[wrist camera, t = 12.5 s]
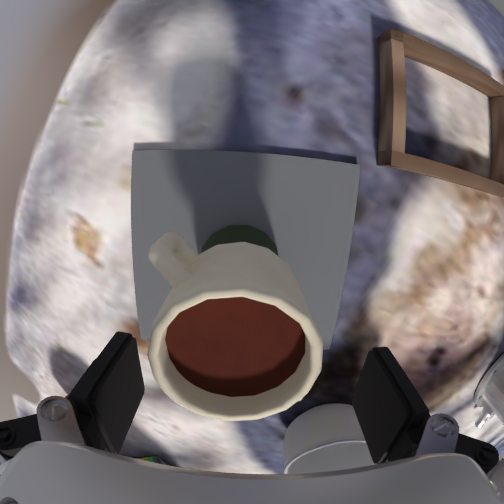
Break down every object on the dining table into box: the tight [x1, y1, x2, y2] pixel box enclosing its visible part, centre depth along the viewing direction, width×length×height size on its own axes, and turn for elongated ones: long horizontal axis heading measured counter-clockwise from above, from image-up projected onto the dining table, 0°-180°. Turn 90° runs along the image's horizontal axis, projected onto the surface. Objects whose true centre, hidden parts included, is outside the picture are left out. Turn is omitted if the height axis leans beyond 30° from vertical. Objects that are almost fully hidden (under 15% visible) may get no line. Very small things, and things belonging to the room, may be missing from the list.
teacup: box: [283, 403, 375, 474], centre depth 26 cm, size 14×11×8 cm
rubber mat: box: [131, 150, 360, 350], centre depth 23 cm, size 17×18×1 cm
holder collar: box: [377, 28, 504, 197], centre depth 19 cm, size 12×16×2 cm
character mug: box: [147, 225, 323, 421], centre depth 17 cm, size 11×7×13 cm, turn 39°
